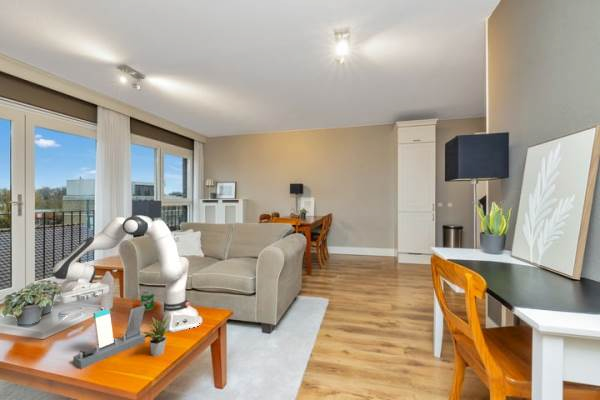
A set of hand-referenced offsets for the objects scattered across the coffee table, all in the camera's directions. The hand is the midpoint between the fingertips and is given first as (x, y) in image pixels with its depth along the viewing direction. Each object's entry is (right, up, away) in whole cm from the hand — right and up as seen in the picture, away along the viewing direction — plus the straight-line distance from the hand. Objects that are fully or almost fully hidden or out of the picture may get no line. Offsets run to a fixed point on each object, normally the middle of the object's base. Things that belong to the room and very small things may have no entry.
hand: (92, 296), depth 134 cm
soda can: (+3, -25, +44) cm, 50 cm away
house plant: (+37, -25, -6) cm, 45 cm away
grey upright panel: (+19, -20, +1) cm, 28 cm away
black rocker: (+10, -19, -15) cm, 26 cm away
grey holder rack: (+15, -24, -7) cm, 29 cm away
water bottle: (-24, -25, +45) cm, 57 cm away
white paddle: (+14, -20, -9) cm, 26 cm away
